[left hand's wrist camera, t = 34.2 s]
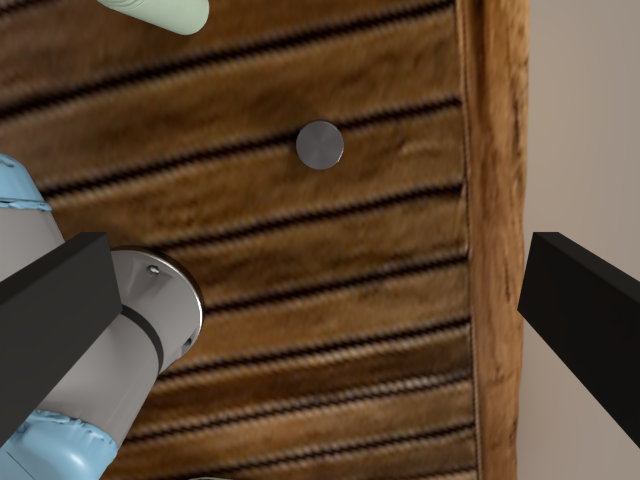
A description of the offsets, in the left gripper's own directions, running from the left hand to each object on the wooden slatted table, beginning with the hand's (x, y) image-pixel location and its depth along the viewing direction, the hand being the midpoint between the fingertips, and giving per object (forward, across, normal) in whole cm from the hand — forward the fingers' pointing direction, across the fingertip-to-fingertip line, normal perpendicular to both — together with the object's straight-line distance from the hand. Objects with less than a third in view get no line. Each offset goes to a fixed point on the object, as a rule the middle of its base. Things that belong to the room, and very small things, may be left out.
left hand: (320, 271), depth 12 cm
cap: (+28, 0, 0) cm, 28 cm away
